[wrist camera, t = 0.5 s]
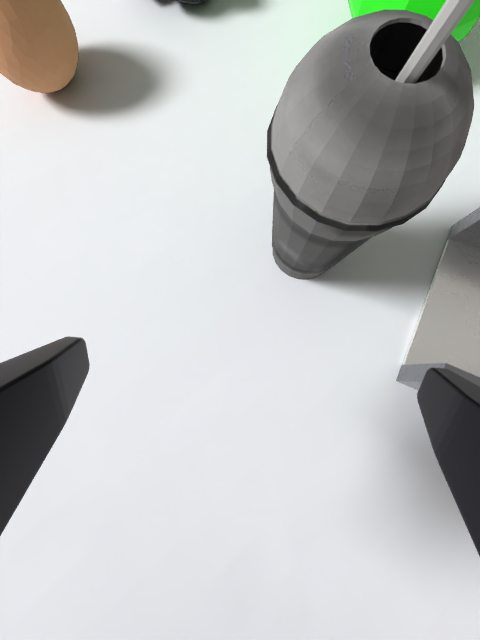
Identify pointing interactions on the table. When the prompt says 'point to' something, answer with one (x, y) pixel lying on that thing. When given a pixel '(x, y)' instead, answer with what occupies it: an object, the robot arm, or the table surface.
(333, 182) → the beverage cup
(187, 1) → the can opener
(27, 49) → the egg
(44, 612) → the table surface
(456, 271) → the box
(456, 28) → the plastic bottle
